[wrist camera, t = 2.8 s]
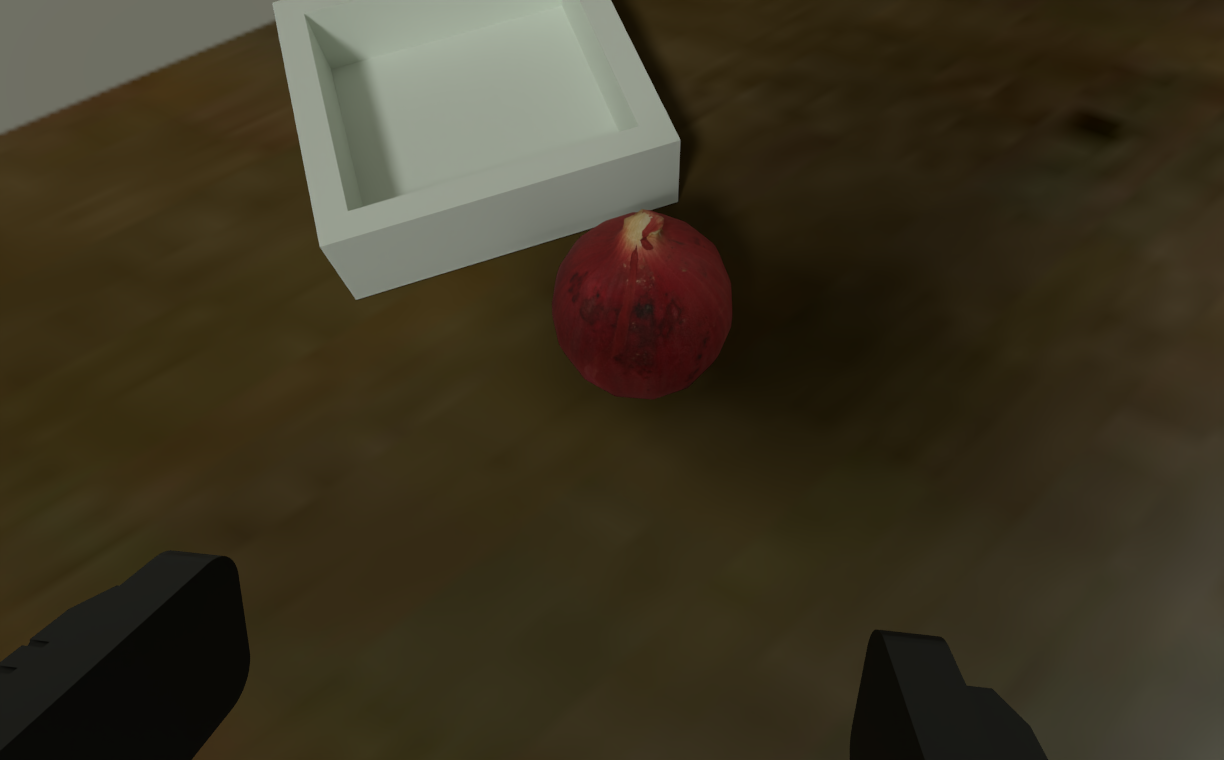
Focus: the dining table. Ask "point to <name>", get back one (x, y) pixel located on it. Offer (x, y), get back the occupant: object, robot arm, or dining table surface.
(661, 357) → the onion
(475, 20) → the bin
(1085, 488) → the dining table surface
